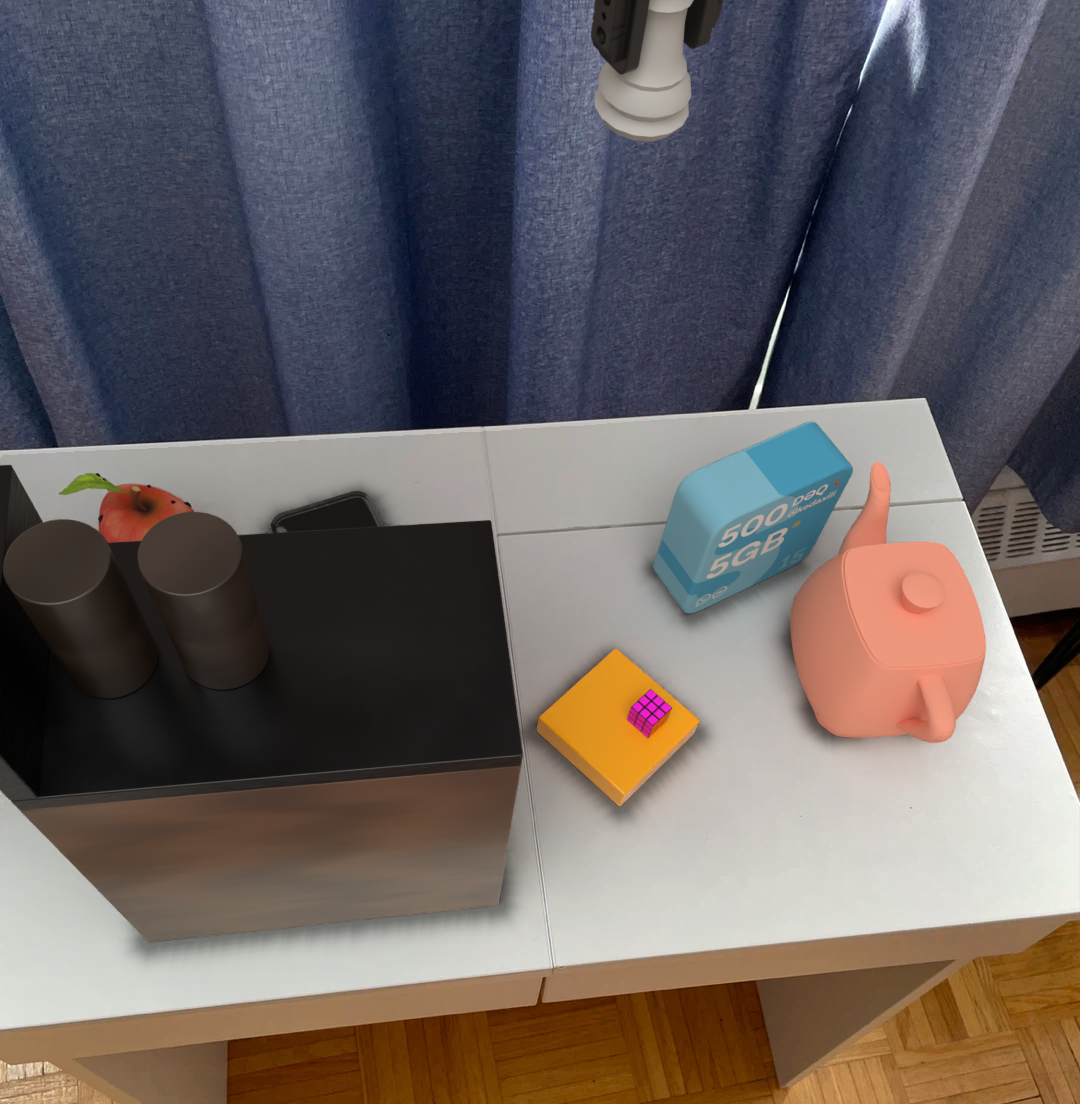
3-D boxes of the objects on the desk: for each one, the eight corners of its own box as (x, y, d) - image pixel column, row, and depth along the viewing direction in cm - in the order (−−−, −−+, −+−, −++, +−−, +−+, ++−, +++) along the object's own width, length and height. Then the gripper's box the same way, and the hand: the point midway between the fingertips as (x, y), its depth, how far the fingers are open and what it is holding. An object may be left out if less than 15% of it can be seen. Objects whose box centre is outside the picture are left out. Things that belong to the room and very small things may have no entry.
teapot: (972, 783, 77) (1058, 709, 66) (813, 799, 76) (874, 726, 65) (895, 549, 86) (961, 449, 75) (751, 559, 84) (796, 459, 73)
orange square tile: (619, 807, 74) (628, 784, 70) (535, 731, 76) (540, 704, 72) (694, 733, 77) (707, 707, 73) (611, 662, 79) (620, 632, 75)
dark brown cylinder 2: (162, 663, 49) (115, 565, 42) (216, 600, 51) (179, 495, 44) (235, 705, 49) (199, 612, 42) (287, 639, 50) (262, 539, 43)
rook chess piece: (651, 72, 52) (685, -115, 45) (706, 128, 51) (750, -55, 43) (574, 99, 51) (595, -89, 44) (627, 157, 49) (659, -27, 42)
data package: (680, 621, 81) (716, 525, 70) (648, 575, 83) (679, 475, 72) (808, 560, 84) (861, 459, 74) (774, 517, 86) (822, 413, 75)
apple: (187, 513, 82) (156, 423, 73) (226, 580, 80) (199, 496, 71) (88, 554, 80) (43, 466, 71) (125, 624, 77) (84, 543, 68)
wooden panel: (148, 942, 68) (19, 811, 47) (152, 752, 73) (38, 560, 53) (498, 905, 71) (521, 766, 50) (477, 725, 76) (490, 533, 55)
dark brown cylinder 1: (47, 672, 49) (-21, 573, 42) (106, 607, 50) (50, 502, 43) (119, 714, 48) (63, 622, 41) (176, 647, 50) (131, 547, 43)
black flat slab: (19, 811, 47) (-48, 742, 41) (38, 560, 53) (-19, 465, 46) (521, 766, 50) (533, 696, 43) (490, 533, 55) (496, 439, 49)
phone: (334, 683, 75) (266, 516, 81) (336, 690, 76) (268, 525, 82) (441, 647, 77) (367, 486, 83) (441, 654, 78) (368, 495, 84)
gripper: (638, -429, 29) (569, 151, 45) (1006, -499, 33) (826, 52, 49) (486, -542, 31) (471, 46, 47) (848, -594, 36) (724, -39, 51)
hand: (652, 47), depth 48 cm, fingers closed on rook chess piece, 3 cm apart
